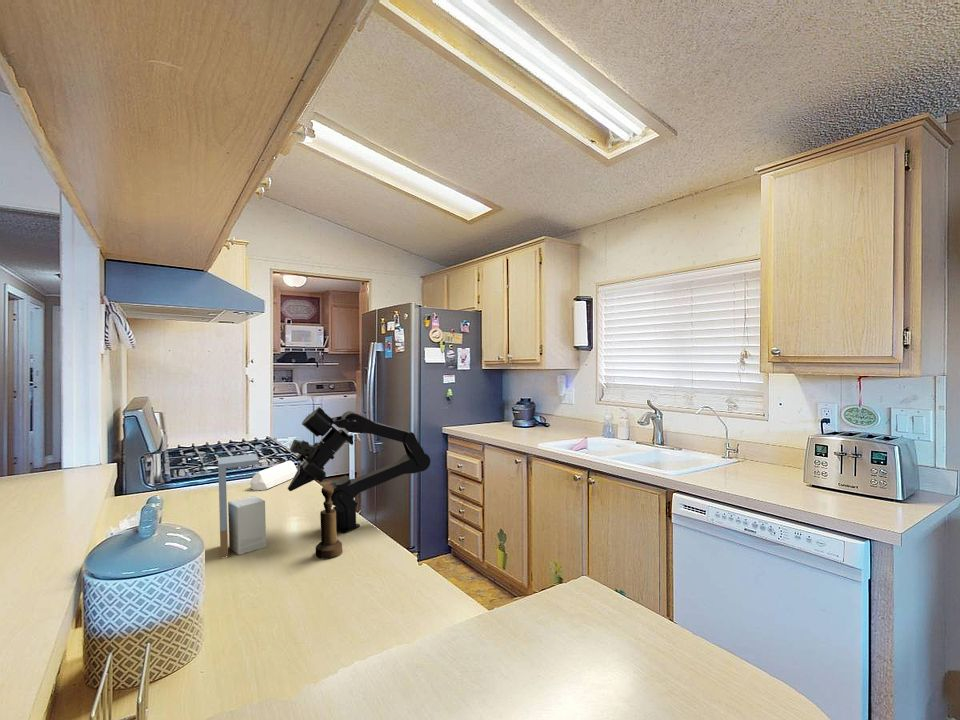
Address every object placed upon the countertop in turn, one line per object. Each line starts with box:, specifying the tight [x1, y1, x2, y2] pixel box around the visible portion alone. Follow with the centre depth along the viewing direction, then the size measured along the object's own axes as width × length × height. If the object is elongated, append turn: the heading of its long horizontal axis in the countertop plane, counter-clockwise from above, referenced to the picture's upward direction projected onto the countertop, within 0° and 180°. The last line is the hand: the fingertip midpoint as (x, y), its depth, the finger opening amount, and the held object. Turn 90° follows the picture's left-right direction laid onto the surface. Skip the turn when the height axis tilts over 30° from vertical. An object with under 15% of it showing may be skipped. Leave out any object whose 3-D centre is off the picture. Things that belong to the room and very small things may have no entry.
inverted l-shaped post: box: [217, 453, 260, 558], centre depth 129 cm, size 9×9×24 cm
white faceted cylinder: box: [249, 460, 298, 491], centre depth 195 cm, size 7×7×24 cm
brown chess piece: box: [315, 483, 343, 559], centre depth 125 cm, size 7×6×18 cm
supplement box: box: [227, 495, 267, 555], centre depth 130 cm, size 7×7×13 cm
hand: (288, 490), depth 135 cm, fingers closed
